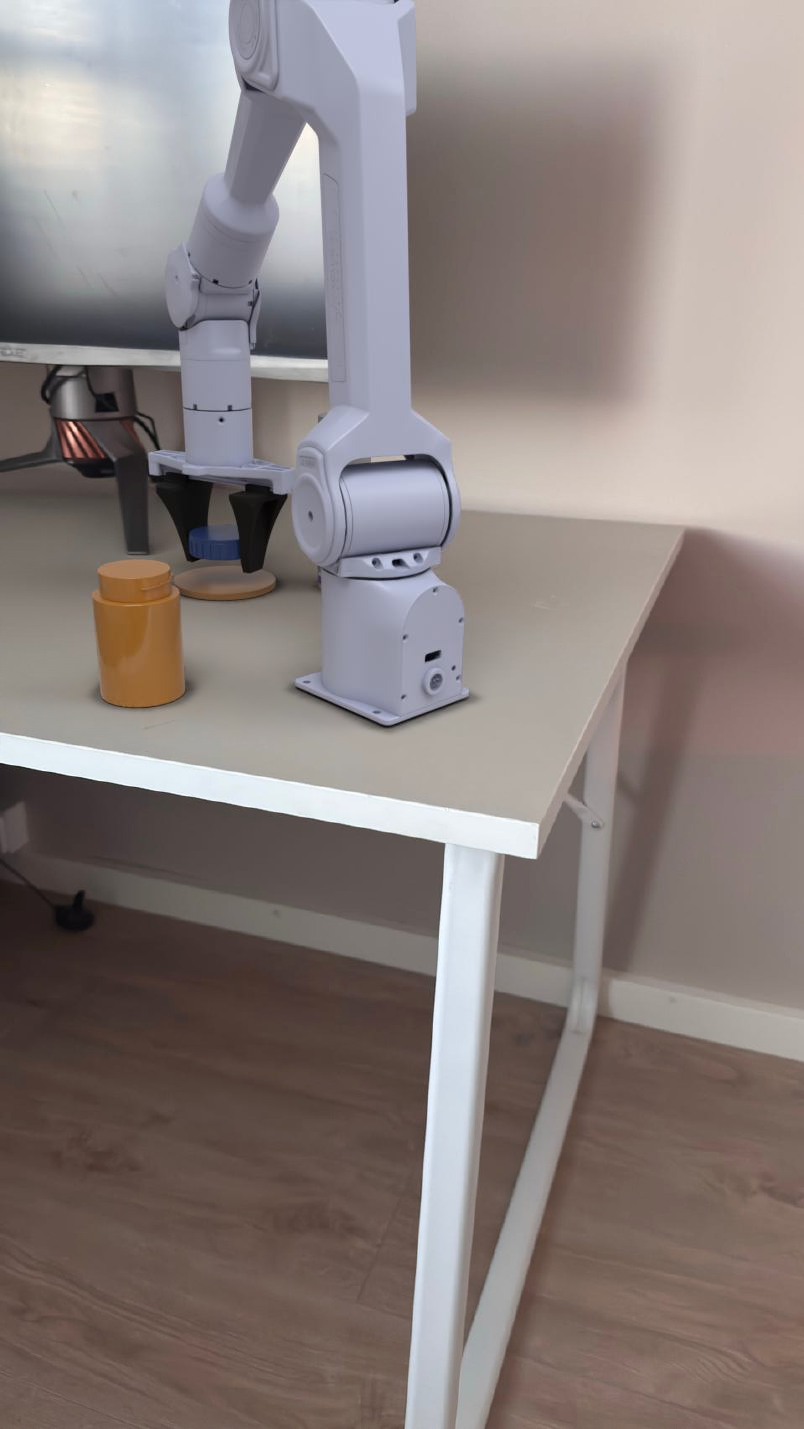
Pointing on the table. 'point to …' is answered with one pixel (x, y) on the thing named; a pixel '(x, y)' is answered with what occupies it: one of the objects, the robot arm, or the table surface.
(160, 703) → the jar
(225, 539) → the lid
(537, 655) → the table surface
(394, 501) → the robot arm
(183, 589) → the coaster
